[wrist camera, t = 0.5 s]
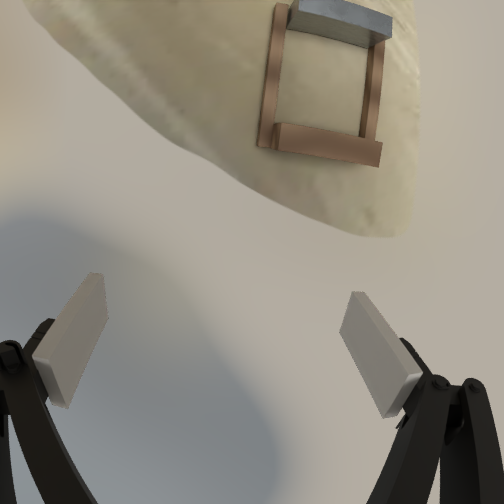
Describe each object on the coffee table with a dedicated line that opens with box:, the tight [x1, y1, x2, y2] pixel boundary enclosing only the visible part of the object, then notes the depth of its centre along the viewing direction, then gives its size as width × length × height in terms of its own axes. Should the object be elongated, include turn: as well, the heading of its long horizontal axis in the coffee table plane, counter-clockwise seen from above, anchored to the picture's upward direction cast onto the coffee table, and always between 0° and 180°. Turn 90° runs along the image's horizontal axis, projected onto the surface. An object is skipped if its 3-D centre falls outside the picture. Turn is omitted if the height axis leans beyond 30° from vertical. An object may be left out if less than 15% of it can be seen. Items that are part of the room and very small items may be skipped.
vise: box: [257, 3, 385, 168], centre depth 32 cm, size 20×15×7 cm
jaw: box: [286, 0, 392, 48], centre depth 29 cm, size 3×11×7 cm, turn 84°
